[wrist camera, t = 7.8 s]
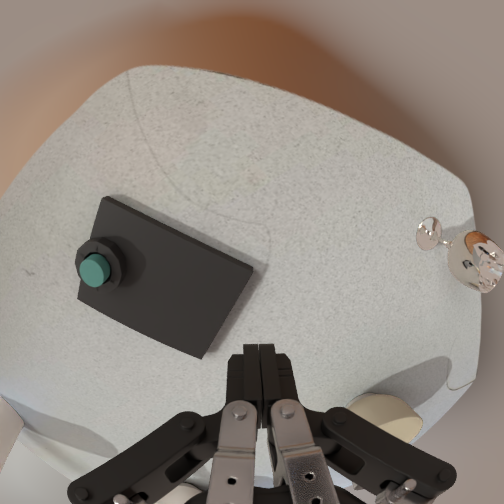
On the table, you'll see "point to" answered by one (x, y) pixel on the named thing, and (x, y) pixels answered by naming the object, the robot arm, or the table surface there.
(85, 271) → the power button
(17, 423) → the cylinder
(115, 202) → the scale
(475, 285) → the wineglass
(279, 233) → the table surface
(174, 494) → the pan
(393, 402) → the bowl
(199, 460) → the robot arm
